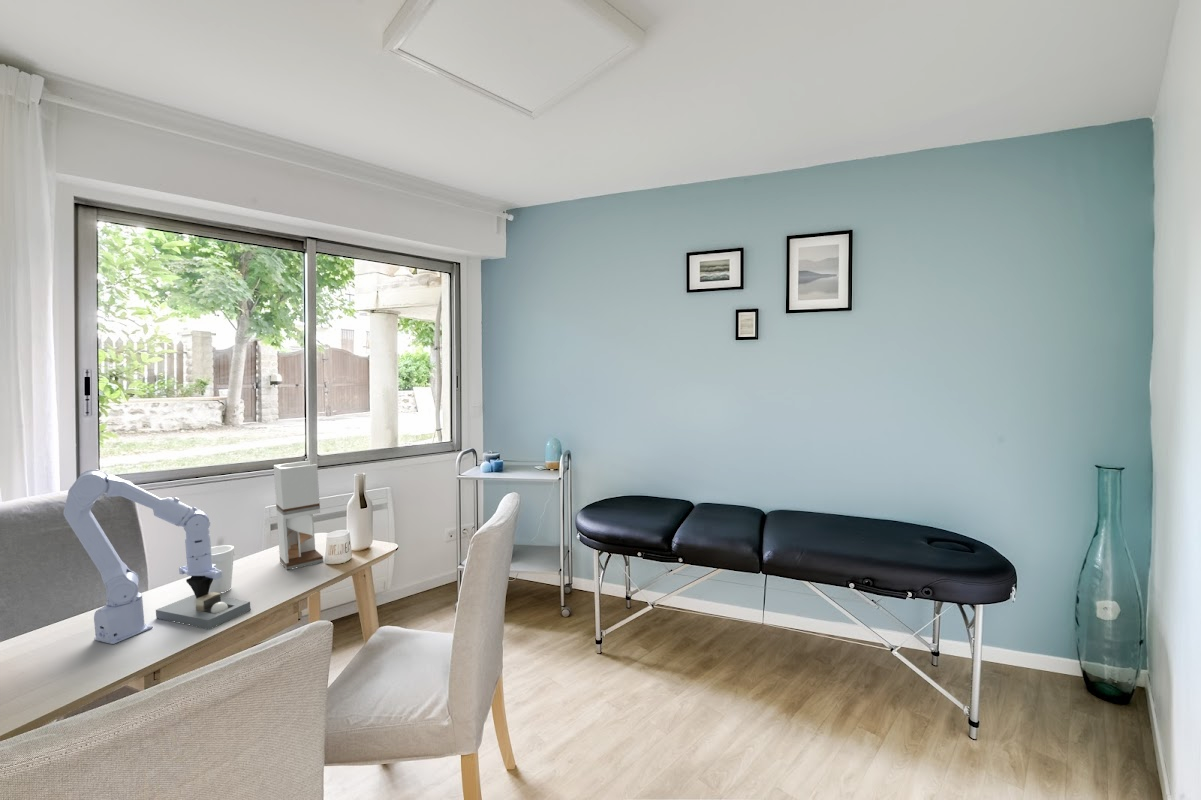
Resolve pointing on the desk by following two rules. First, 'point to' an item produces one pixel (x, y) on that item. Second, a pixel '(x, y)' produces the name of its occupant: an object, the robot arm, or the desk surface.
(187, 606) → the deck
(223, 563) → the foam cup
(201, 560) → the robot arm
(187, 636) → the desk surface
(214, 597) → the cream rectangular block
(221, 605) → the ball
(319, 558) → the white coffee grinder
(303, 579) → the desk surface
